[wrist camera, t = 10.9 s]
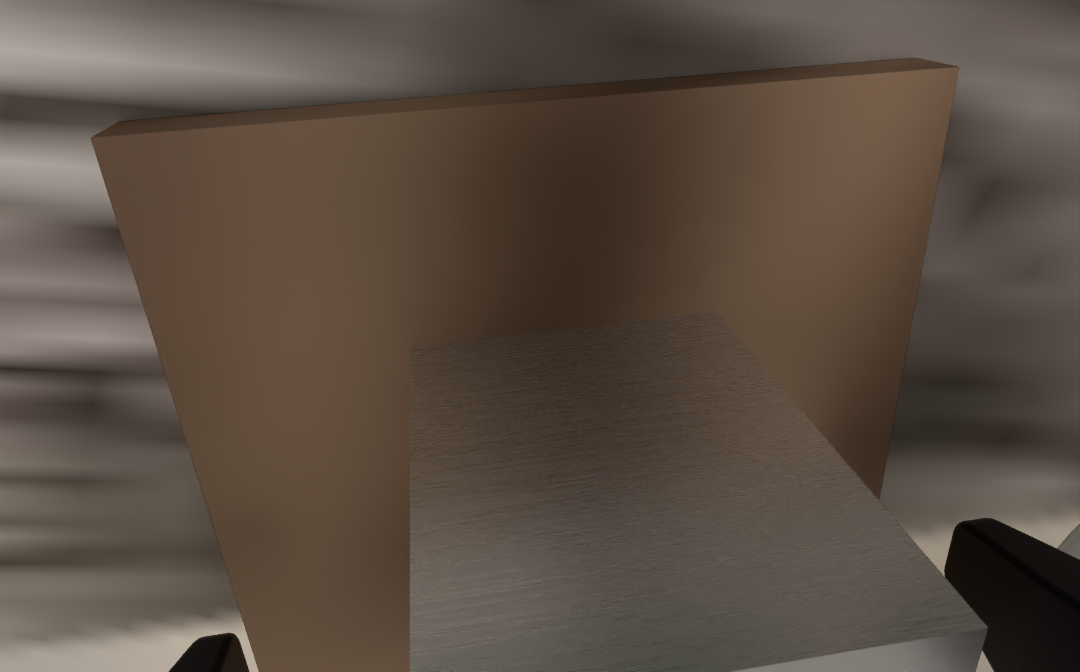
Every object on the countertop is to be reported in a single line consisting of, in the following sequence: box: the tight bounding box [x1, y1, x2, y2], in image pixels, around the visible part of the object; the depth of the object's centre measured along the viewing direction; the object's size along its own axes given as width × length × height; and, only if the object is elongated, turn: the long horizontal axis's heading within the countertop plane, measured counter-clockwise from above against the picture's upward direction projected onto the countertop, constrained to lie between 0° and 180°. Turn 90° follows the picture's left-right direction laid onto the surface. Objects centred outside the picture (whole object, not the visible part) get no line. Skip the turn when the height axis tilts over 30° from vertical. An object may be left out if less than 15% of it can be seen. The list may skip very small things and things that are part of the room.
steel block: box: [410, 312, 988, 672], centre depth 9 cm, size 4×4×6 cm
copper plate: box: [91, 58, 959, 672], centre depth 13 cm, size 11×11×1 cm
